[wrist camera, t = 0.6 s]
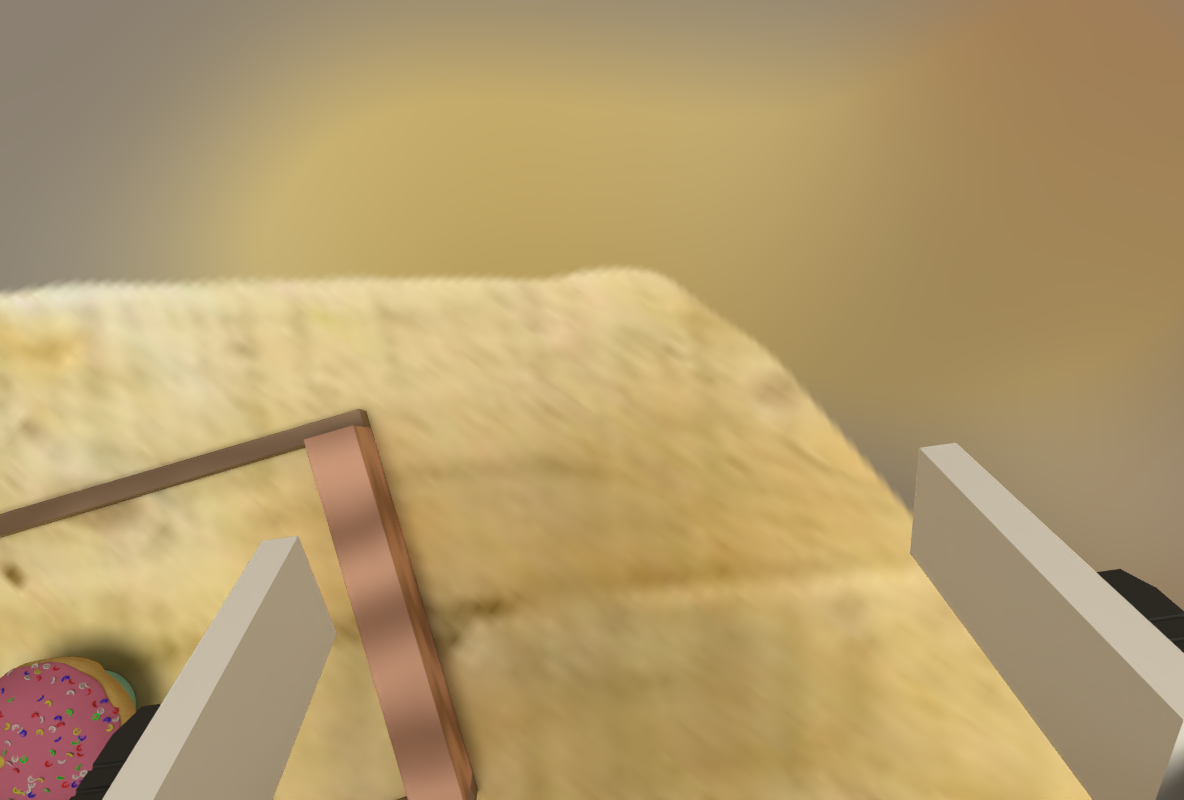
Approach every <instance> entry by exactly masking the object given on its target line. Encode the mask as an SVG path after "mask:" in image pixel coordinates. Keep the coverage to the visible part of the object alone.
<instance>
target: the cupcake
mask: <svg viewBox="0 0 1184 800" xmlns="http://www.w3.org/2000/svg"><path fill="white" fill-rule="evenodd" d="M135 713H136V697H135V693H134V691H133V689H132V687H131V685H130V684H129V683H128V681H127V680H126V679H124V678H123V677H122V676H121V675H119V674H117V673H115V672H112V671H108V670H104V669H103V667H102V666H101V664H99V663H98V662H96V661H93V660H90V659H87V658H83V657H57V658H50V659H44V660H39V661H34V662H29V663H26V664H23V665H21V666H19V667H17V668H15V669H12V670H10V671H9V672H7V673H6V674H5V675H4V676H3V677H1V678H0V800H69V799H70V798H71V797H72V796H75V794H76V789H77V787H78V786H79V784H80V783H81V781H82V780H83V778H84V777H85V775H86V774H87V772H88V771H91V770H92V768H93V766H92V765H93V763H94V762H95V760H96V759H97V757H98V756H99V754H100V753H101V751H102V750H103V748H104V747H105V745H106V744H107V742H108V741H109V739H110V738H111V736H112V735H113V734H114V733H115V732H116V731H117V730H118V729H119V728H120V727H121V726H122V725H123V724H124V723H125V722H126V721H127V720H128V719H129V718H130V717H131V716H132V715H133V714H135Z"/></svg>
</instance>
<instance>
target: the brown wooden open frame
mask: <svg viewBox="0 0 1184 800" xmlns="http://www.w3.org/2000/svg"><path fill="white" fill-rule="evenodd" d="M305 447H306V450H307V453H308V457H309V460H310V464H311V467H312V471H313V474H314V477H315V481H316V484H317V488H318V491H319V495H320V498H321V502H322V505H323V508H324V512H325V515H326V519H327V522H328V526H329V529H330V533H331V536H332V539H333V543H334V546H335V550H336V553H337V557H338V560H339V564H340V567H341V570H342V574H343V577H344V581H345V584H346V588H347V591H348V595H349V598H350V601H351V605H352V608H353V612H354V615H355V619H356V622H357V626H358V629H359V632H360V636H361V639H362V643H363V646H364V650H365V653H366V657H367V660H368V663H369V667H370V670H371V674H372V677H373V681H374V684H375V688H376V691H377V694H378V698H379V701H380V705H381V708H382V712H383V715H384V719H385V722H386V725H387V729H388V732H389V736H390V739H391V743H392V746H393V750H394V753H395V756H396V760H397V763H398V767H399V770H400V774H401V777H402V781H403V784H404V787H405V791H406V794H407V797H404V798H401V799H398V800H476V799H477V791H478V790H477V786H476V783H475V780H474V776H473V773H472V769H471V766H470V763H469V759H468V756H467V753H466V749H465V746H464V742H463V739H462V736H461V732H460V729H459V725H458V722H457V719H456V715H455V712H454V708H453V705H452V702H451V698H450V695H449V691H448V688H447V685H446V681H445V678H444V674H443V671H442V668H441V664H440V661H439V657H438V654H437V651H436V647H435V644H434V640H433V637H432V634H431V630H430V627H429V624H428V620H427V617H426V613H425V610H424V607H423V603H422V600H421V596H420V593H419V590H418V586H417V583H416V579H415V576H414V573H413V569H412V566H411V562H410V559H409V556H408V552H407V549H406V545H405V542H404V539H403V535H402V532H401V528H400V525H399V522H398V518H397V515H396V511H395V508H394V505H393V501H392V498H391V495H390V491H389V488H388V484H387V481H386V478H385V474H384V471H383V467H382V464H381V461H380V457H379V454H378V450H377V447H376V444H375V440H374V437H373V433H372V430H371V427H370V423H369V420H368V416H367V413H366V411H364V410H360V409H358V410H355V411H351V412H348V413H344V414H341V415H338V416H334V417H331V418H327V419H324V420H320V421H317V422H314V423H310V424H307V425H303V426H300V427H297V428H293V429H290V430H286V431H283V432H279V433H276V434H273V435H269V436H266V437H262V438H259V439H255V440H252V441H249V442H245V443H242V444H238V445H235V446H232V447H228V448H225V449H221V450H218V451H214V452H211V453H208V454H204V455H201V456H197V457H194V458H190V459H187V460H184V461H180V462H177V463H173V464H170V465H167V466H163V467H160V468H156V469H153V470H149V471H146V472H143V473H139V474H136V475H132V476H129V477H125V478H122V479H119V480H115V481H112V482H108V483H105V484H102V485H98V486H95V487H91V488H88V489H84V490H81V491H78V492H74V493H71V494H67V495H64V496H60V497H57V498H54V499H50V500H47V501H43V502H40V503H37V504H33V505H30V506H26V507H23V508H19V509H16V510H13V511H9V512H6V513H2V514H0V538H1V537H4V536H7V535H11V534H14V533H18V532H21V531H24V530H28V529H31V528H34V527H38V526H41V525H45V524H48V523H51V522H55V521H58V520H61V519H65V518H68V517H72V516H75V515H78V514H82V513H85V512H88V511H92V510H95V509H99V508H102V507H105V506H109V505H112V504H115V503H119V502H122V501H126V500H129V499H132V498H136V497H139V496H142V495H146V494H149V493H153V492H156V491H159V490H163V489H166V488H169V487H173V486H176V485H180V484H183V483H186V482H190V481H193V480H196V479H200V478H203V477H207V476H210V475H213V474H217V473H220V472H223V471H227V470H230V469H234V468H237V467H240V466H244V465H247V464H250V463H254V462H257V461H261V460H264V459H267V458H271V457H274V456H277V455H281V454H284V453H288V452H291V451H294V450H298V449H301V448H305Z"/></svg>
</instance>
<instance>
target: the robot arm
mask: <svg viewBox="0 0 1184 800" xmlns="http://www.w3.org/2000/svg"><path fill="white" fill-rule="evenodd" d="M910 554H911V555H912V556H913V558H914V559H915V560H916V562H917V563H918V565H919V566H920V567H921V569H922V570H923V571H924V573H925V574H926V575H927V577H928V578H929V579H930V581H931V582H932V583H933V585H934V586H935V587H936V589H937V590H938V592H939V593H940V594H941V596H942V597H943V598H944V600H945V601H946V602H947V604H948V605H949V606H950V608H951V609H952V610H953V612H954V613H955V615H956V616H957V617H958V619H959V620H960V621H961V623H962V624H963V625H964V627H965V628H966V629H967V631H968V632H969V633H970V635H971V636H972V637H973V639H974V640H975V642H976V643H977V644H978V646H979V647H980V648H981V650H982V651H983V652H984V654H985V655H986V656H987V658H988V659H989V660H990V662H991V663H992V664H993V666H994V667H995V669H996V670H997V671H998V673H999V674H1000V675H1001V677H1002V678H1003V679H1004V681H1005V682H1006V683H1007V685H1008V686H1009V687H1010V689H1011V690H1012V691H1013V693H1014V694H1015V696H1016V697H1017V698H1018V700H1019V701H1020V702H1021V704H1022V705H1023V706H1024V708H1025V709H1026V710H1027V712H1028V713H1029V714H1030V716H1031V717H1032V719H1033V720H1034V721H1035V723H1036V724H1037V725H1038V727H1039V728H1040V729H1041V731H1042V732H1043V733H1044V735H1045V736H1046V737H1047V739H1048V740H1049V741H1050V743H1051V744H1052V746H1053V747H1054V748H1055V750H1056V751H1057V752H1058V754H1059V755H1060V756H1061V758H1062V759H1063V760H1064V762H1065V763H1066V764H1067V766H1068V767H1069V768H1070V770H1071V771H1072V773H1073V774H1074V775H1075V777H1076V778H1077V779H1078V781H1079V782H1080V783H1081V785H1082V786H1083V787H1084V789H1085V790H1086V791H1087V793H1088V794H1089V795H1090V797H1091V798H1092V800H1184V611H1183V610H1182V609H1180V608H1179V607H1178V606H1177V605H1176V604H1175V603H1173V602H1172V601H1171V600H1170V599H1169V598H1168V597H1166V596H1165V595H1164V594H1163V593H1162V592H1161V591H1159V590H1158V589H1157V588H1155V587H1153V586H1151V585H1150V584H1148V583H1146V582H1144V581H1142V580H1140V579H1138V578H1136V577H1134V576H1132V575H1131V574H1129V573H1127V572H1124V571H1123V570H1121V569H1117V570H1110V571H1103V572H1095V571H1094V570H1093V569H1092V568H1091V567H1090V566H1089V565H1088V564H1087V563H1086V562H1084V561H1083V560H1082V559H1081V558H1080V557H1079V556H1078V555H1077V554H1076V553H1074V551H1072V550H1071V549H1070V548H1069V547H1068V546H1067V545H1066V544H1065V543H1064V542H1063V541H1062V540H1061V539H1059V538H1058V537H1057V536H1056V535H1055V534H1054V533H1053V532H1052V531H1051V530H1050V529H1049V528H1048V527H1046V526H1045V525H1044V524H1043V523H1042V522H1041V521H1040V520H1039V519H1038V518H1037V517H1036V516H1035V515H1034V514H1032V513H1031V512H1030V511H1029V510H1028V509H1027V508H1026V507H1025V506H1024V505H1023V504H1022V503H1021V502H1019V501H1018V500H1017V499H1016V498H1015V497H1014V496H1013V495H1012V494H1011V493H1010V492H1009V491H1008V490H1006V489H1005V488H1004V487H1003V486H1002V485H1001V484H1000V483H999V482H998V481H997V480H996V479H995V478H993V477H992V476H991V475H990V474H989V473H988V472H987V471H986V470H985V469H984V468H983V467H982V466H980V465H979V464H978V463H977V462H976V461H975V460H974V459H973V458H972V457H971V456H970V455H968V454H967V453H966V452H965V451H964V450H963V449H962V448H961V447H960V446H959V445H957V443H952V444H945V445H938V446H931V447H923V448H919V457H918V469H917V481H916V492H915V503H914V514H913V526H912V537H911V549H910ZM336 634H337V633H336V630H335V628H334V625H333V623H332V620H331V618H330V615H329V613H328V610H327V608H326V605H325V603H324V600H323V598H322V595H321V593H320V590H319V587H318V585H317V582H316V580H315V577H314V575H313V572H312V570H311V567H310V565H309V562H308V560H307V557H306V555H305V552H304V550H303V547H302V545H301V542H300V540H299V537H298V536H294V537H287V538H280V539H273V540H266V541H262V542H261V544H260V545H259V547H258V549H257V550H256V552H255V553H254V555H253V557H252V558H251V560H250V562H249V563H248V565H247V566H246V568H245V570H244V571H243V573H242V574H241V576H240V578H239V579H238V581H237V583H236V584H235V586H234V587H233V589H232V591H231V592H230V594H229V595H228V597H227V599H226V600H225V602H224V604H223V605H222V607H221V608H220V610H219V612H218V613H217V615H216V616H215V618H214V620H213V621H212V623H211V625H210V626H209V628H208V629H207V631H206V633H205V634H204V636H203V637H202V639H201V641H200V642H199V644H198V646H197V647H196V649H195V650H194V652H193V654H192V655H191V657H190V658H189V660H188V662H187V663H186V665H185V667H184V668H183V670H182V671H181V673H180V675H179V676H178V678H177V679H176V681H175V683H174V684H173V686H172V688H171V689H170V691H169V692H168V694H167V696H166V697H165V699H164V700H163V702H162V704H157V705H150V706H143V707H141V708H140V709H139V710H138V711H137V712H136V713H135V714H133V715H132V716H131V717H130V718H129V719H128V720H127V721H126V722H125V723H124V724H123V725H122V726H121V727H120V728H119V729H118V730H117V731H116V732H115V733H114V734H113V735H112V736H111V738H110V739H109V741H108V742H107V744H106V745H105V747H104V748H103V750H102V751H101V753H100V754H99V756H98V757H97V759H96V760H95V762H94V763H93V765H92V766H93V768H92V770H91V771H88V772H87V774H86V775H85V777H84V778H83V780H82V781H81V783H80V784H79V786H78V787H77V789H76V794H75V796H72V797H71V798H70V799H69V800H273V797H274V795H275V792H276V790H277V787H278V784H279V782H280V779H281V777H282V774H283V771H284V769H285V766H286V764H287V761H288V758H289V756H290V753H291V751H292V748H293V745H294V743H295V740H296V738H297V735H298V732H299V730H300V727H301V725H302V722H303V719H304V717H305V714H306V712H307V709H308V706H309V704H310V701H311V699H312V696H313V693H314V691H315V688H316V686H317V683H318V680H319V678H320V675H321V673H322V670H323V667H324V665H325V662H326V660H327V657H328V655H329V652H330V649H331V647H332V644H333V642H334V639H335V636H336Z"/></svg>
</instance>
